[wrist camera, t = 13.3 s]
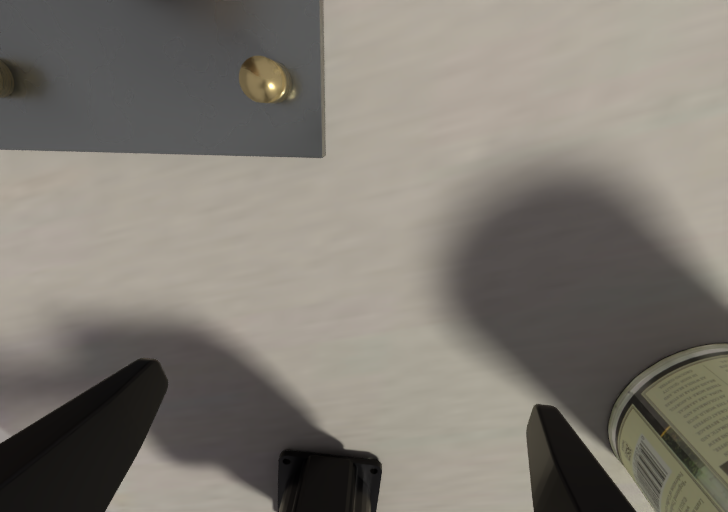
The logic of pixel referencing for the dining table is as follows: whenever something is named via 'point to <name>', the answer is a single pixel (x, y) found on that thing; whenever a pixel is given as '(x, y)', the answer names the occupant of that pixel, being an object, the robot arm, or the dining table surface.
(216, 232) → the dining table surface
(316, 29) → the base plate
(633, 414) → the coffee can
